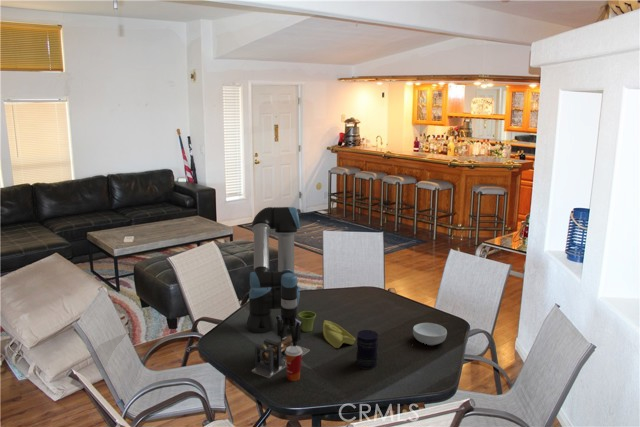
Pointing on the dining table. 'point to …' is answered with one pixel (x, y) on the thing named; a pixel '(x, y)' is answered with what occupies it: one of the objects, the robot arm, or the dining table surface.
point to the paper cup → (293, 362)
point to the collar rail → (271, 359)
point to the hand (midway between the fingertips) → (288, 351)
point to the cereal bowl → (429, 333)
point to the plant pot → (307, 320)
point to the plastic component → (336, 334)
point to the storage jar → (367, 349)
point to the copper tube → (284, 342)
